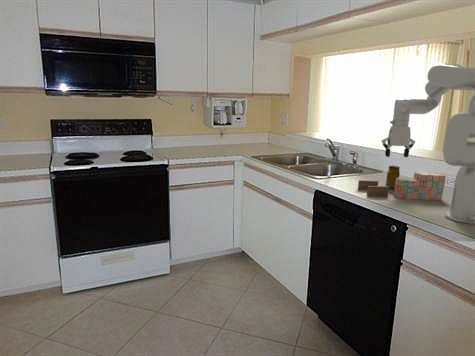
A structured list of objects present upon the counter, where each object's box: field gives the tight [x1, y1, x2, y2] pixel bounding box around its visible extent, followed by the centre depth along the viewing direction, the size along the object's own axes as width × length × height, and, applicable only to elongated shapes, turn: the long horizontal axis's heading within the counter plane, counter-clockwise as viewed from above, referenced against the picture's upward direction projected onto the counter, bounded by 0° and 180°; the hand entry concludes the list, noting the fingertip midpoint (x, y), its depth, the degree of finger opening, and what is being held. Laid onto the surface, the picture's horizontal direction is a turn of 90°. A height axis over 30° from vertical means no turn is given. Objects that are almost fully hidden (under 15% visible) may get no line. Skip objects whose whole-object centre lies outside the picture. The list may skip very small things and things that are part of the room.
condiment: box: [385, 165, 401, 190], centre depth 188 cm, size 7×8×12 cm
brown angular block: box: [357, 179, 389, 198], centre depth 180 cm, size 13×10×5 cm
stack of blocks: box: [393, 171, 446, 201], centre depth 174 cm, size 21×6×12 cm, turn 94°
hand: (396, 156), depth 185 cm, fingers open, 9 cm apart
